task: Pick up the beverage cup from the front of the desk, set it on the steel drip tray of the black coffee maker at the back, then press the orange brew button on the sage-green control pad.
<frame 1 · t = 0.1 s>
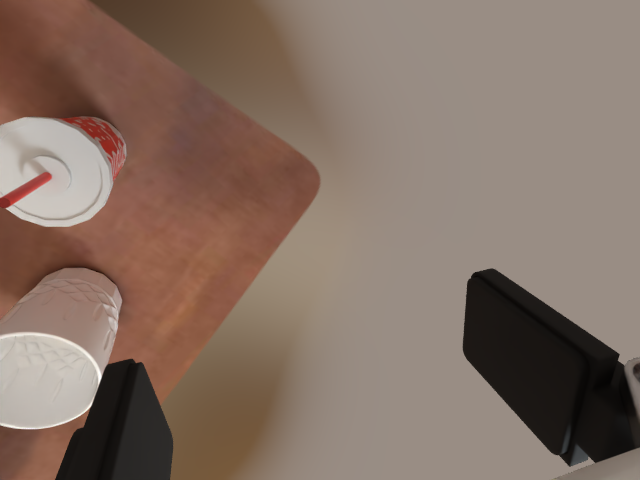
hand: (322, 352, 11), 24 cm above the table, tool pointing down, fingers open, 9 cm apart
white cup: (80, 299, 33), on the table
beverage cup: (94, 147, 29), on the table
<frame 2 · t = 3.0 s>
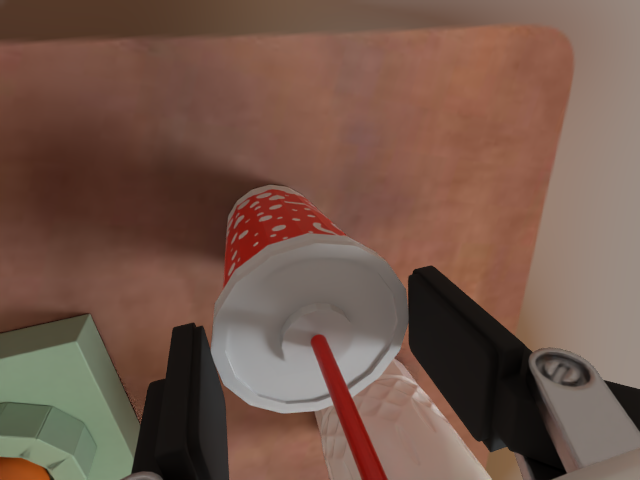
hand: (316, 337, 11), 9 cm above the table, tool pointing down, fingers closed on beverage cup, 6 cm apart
brew pad: (36, 418, 20), on the table
white cup: (359, 389, 26), on the table
beverage cup: (271, 227, 19), on the table, touching gripper
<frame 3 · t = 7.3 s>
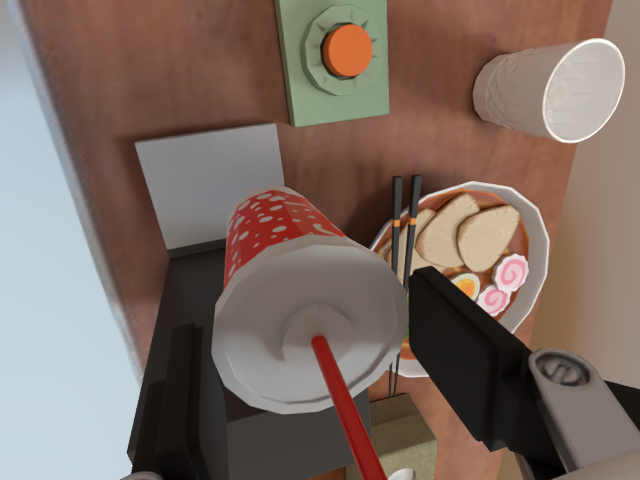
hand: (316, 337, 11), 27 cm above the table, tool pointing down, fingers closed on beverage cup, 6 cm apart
coffee maker: (219, 184, 36), on the table
brew pad: (331, 54, 34), on the table
tissue box: (375, 443, 57), on the table
ramen bowl: (419, 258, 45), on the table
white cup: (498, 89, 39), on the table
brew button: (347, 51, 30), point 4 cm above the table, slide at 0.1 cm
beverage cup: (272, 227, 19), point 18 cm above the table, touching gripper
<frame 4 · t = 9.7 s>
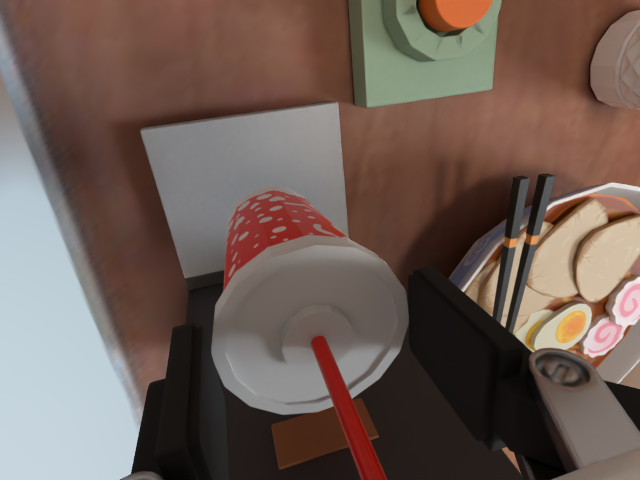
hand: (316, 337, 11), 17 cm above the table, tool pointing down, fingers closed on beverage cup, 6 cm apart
coffee maker: (256, 189, 26), on the table
brew pad: (415, 5, 24), on the table
ramen bowl: (500, 280, 36), on the table
white cup: (621, 60, 30), on the table
beverage cup: (272, 228, 19), point 7 cm above the table, touching gripper
when the fingers open (10 cm above the table, at t = 11.7 s): beverage cup stays where it is, resting on coffee maker.
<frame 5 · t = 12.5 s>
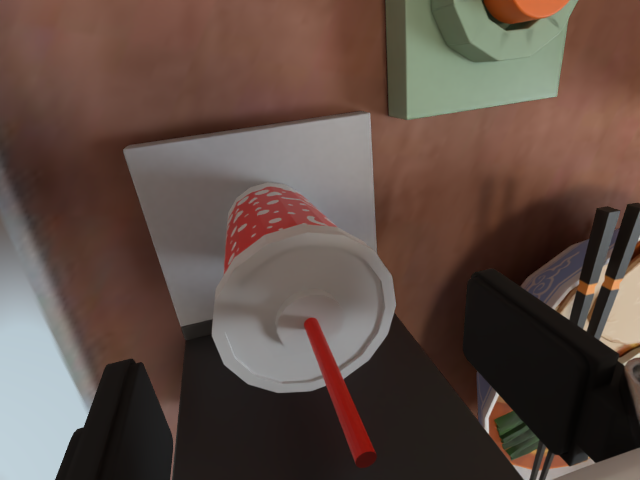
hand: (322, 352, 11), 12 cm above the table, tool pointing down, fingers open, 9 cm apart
coffee maker: (268, 217, 21), on the table
ramen bowl: (545, 314, 31), on the table
beverage cup: (270, 223, 20), point 1 cm above the table, touching coffee maker
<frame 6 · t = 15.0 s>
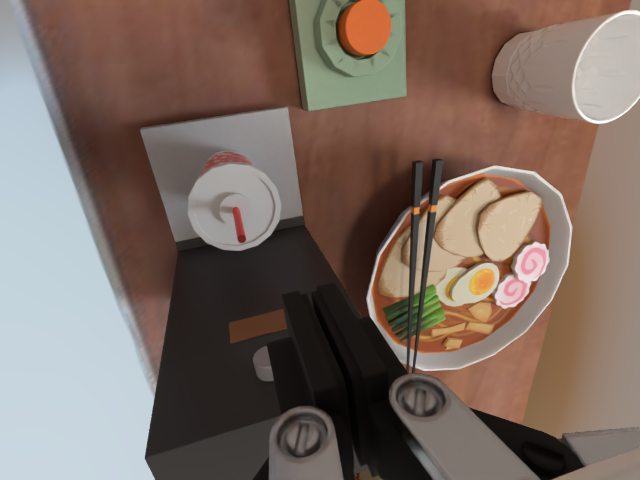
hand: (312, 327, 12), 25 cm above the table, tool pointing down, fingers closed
coffee maker: (229, 173, 34), on the table
brew pad: (345, 33, 32), on the table
ramen bowl: (434, 248, 44), on the table
white cup: (518, 70, 38), on the table
brew button: (364, 28, 28), point 4 cm above the table, slide at 0.1 cm
beverage cup: (229, 175, 33), point 1 cm above the table, touching coffee maker
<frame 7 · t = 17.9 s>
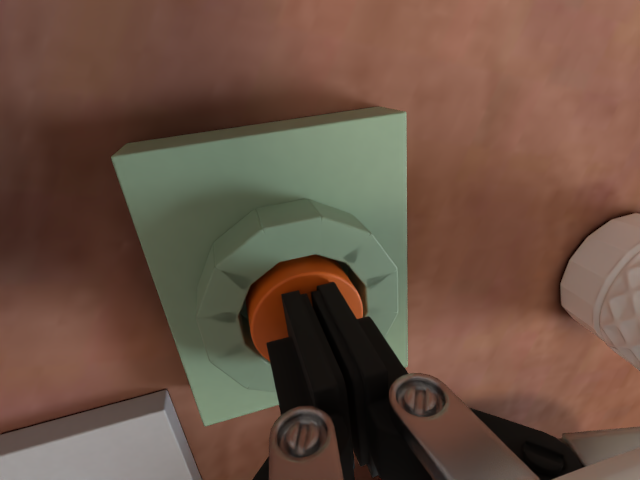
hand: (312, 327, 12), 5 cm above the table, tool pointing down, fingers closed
brew pad: (283, 260, 16), on the table
white cup: (605, 267, 21), on the table
brew button: (303, 308, 12), point 4 cm above the table, slide at -0.8 cm, touching gripper
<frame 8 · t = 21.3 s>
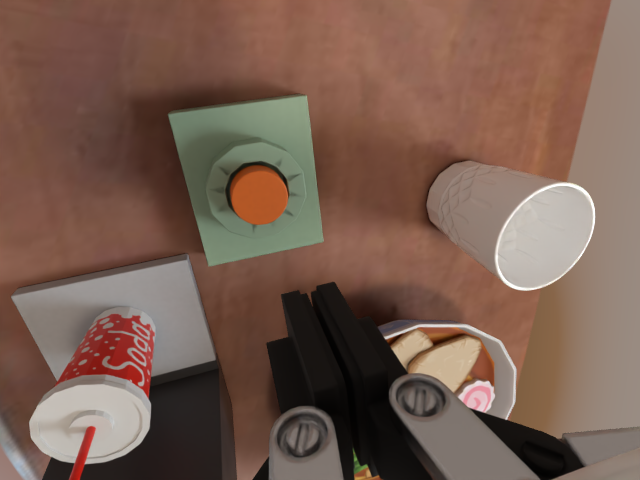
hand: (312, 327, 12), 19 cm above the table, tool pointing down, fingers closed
coffee maker: (127, 322, 30), on the table
brew pad: (252, 178, 29), on the table
ramen bowl: (374, 371, 40), on the table
white cup: (457, 196, 34), on the table
brew button: (258, 194, 25), point 4 cm above the table, slide at 0.1 cm
beverage cup: (124, 329, 30), point 1 cm above the table, touching coffee maker
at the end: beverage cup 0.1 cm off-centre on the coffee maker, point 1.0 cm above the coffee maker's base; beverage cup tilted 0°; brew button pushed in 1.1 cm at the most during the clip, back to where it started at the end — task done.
